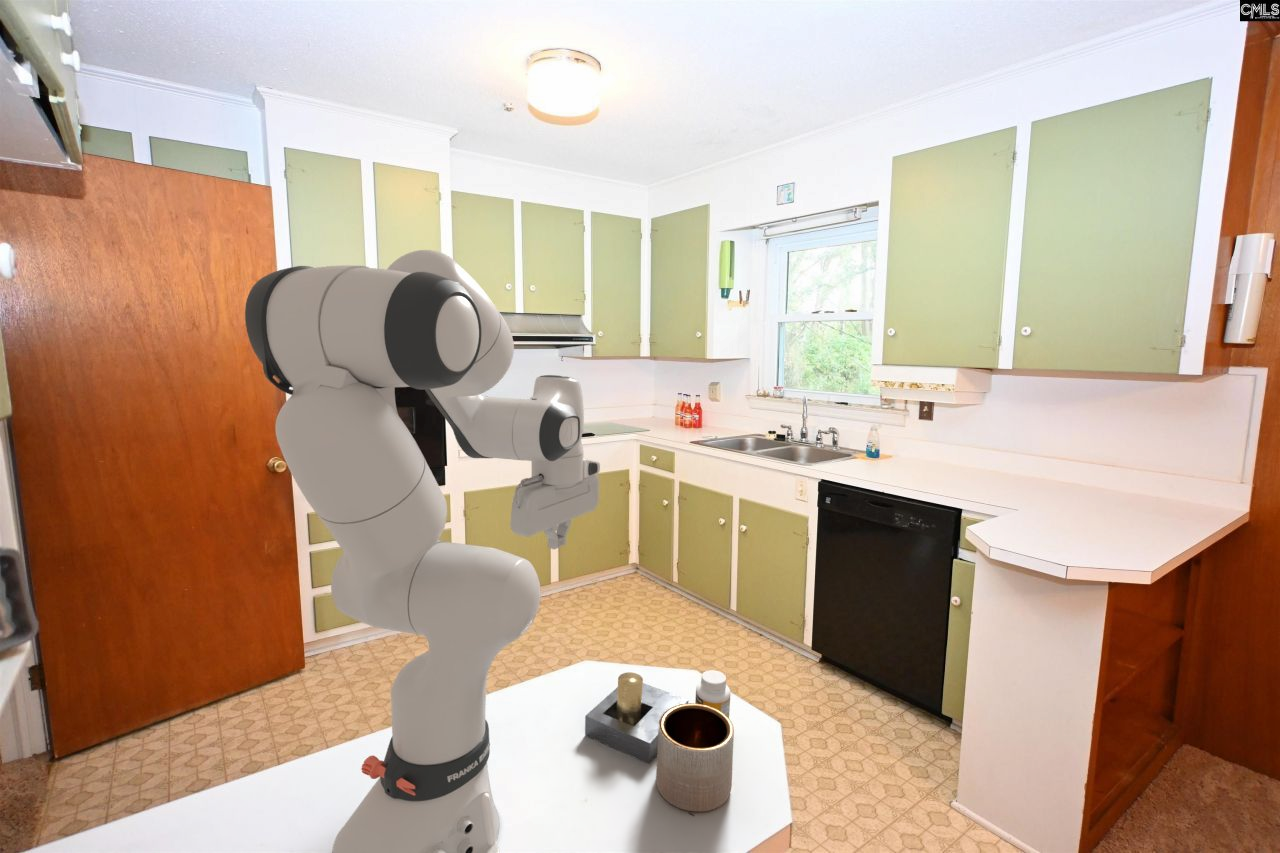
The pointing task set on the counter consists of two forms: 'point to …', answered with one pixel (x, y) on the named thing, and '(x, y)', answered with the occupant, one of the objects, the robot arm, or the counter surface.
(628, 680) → the gold round-topped cylinder
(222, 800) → the counter surface
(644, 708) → the jig plate
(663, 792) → the planter
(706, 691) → the supplement bottle
